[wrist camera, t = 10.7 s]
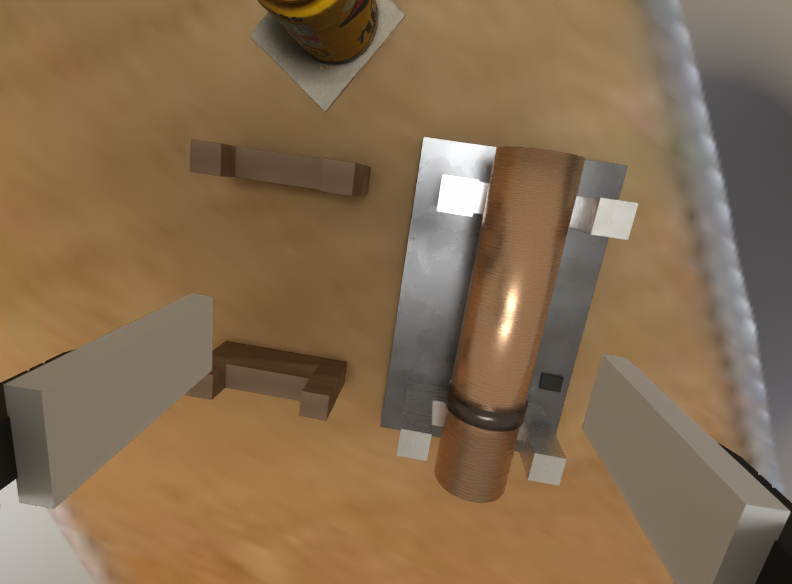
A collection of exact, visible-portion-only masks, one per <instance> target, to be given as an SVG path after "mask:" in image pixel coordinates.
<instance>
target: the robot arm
mask: <svg viewBox="0 0 792 584" xmlns="http://www.w3.org/2000/svg"><path fill="white" fill-rule="evenodd" d="M212 339H213V297H212V296H205V295H199V294H192V293H191V294H189V295H187V296H185V297H183V298H181V299H179V300H177V301H175V302H172V303H170V304H168V305H166V306H164V307H162V308H160V309H158V310H156V311H154V312H152V313H150V314H148V315H146V316H144V317H142V318H140V319H137V320H135V321H133V322H131V323H129V324H127V325H125V326H123V327H121V328H119V329H117V330H115V331H113V332H111V333H109V334H107V335H104V336H102V337H100V338H98V339H96V340H94V341H92V342H90V343H88V344H86V345H84V346H82V347H80V348H78V349H75V350H71V351H68V352H64V353H62V354H60V355H58V356H56V357H53V358H51V359H49V360H47V361H45V364H44V363H41V364H39V365H37V366H35V367H33V368H30V370H29V371H24V372H22V373H20V374H18V375H16V376H14V377H12V378H10V379H7V380H5V381H3V382H1V383H0V490H1V489H2V488H4V487H5V486H7V485H8V484H9V483H11V482H12V481H14V480H15V479H16V481H17V489H18V496H19V502H20V503H24V504H30V505H35V506H41V507H47V508H53V509H55V508H56V507H57V506H58V505H59V504H60V503H61V502H63V501H64V500H65V499H66V498H67V497H68V496H69V495H70V494H72V493H73V492H74V491H75V490H76V489H77V488H78V487H80V486H81V485H82V484H83V483H84V482H85V481H86V480H88V479H89V478H90V477H91V476H92V475H93V474H94V473H96V472H97V471H98V470H99V469H100V468H101V467H102V466H103V465H105V464H106V463H107V462H108V461H109V460H110V459H111V458H113V457H114V456H115V455H116V454H117V453H118V452H119V451H121V450H122V449H123V448H124V447H125V446H126V445H127V444H129V443H130V442H131V441H132V440H133V439H134V438H135V437H136V436H138V435H139V434H140V433H141V432H142V431H143V430H144V429H146V428H147V427H148V426H149V425H150V424H151V423H152V422H154V421H155V420H156V419H157V418H158V417H159V416H160V415H162V414H163V413H164V412H165V411H166V410H167V409H168V408H169V407H171V406H172V405H173V404H174V403H175V402H176V401H177V400H179V399H180V398H181V397H182V396H183V395H184V394H185V393H187V392H188V391H189V390H190V389H191V388H192V387H193V386H195V385H196V384H197V383H198V382H199V381H200V380H201V379H202V378H204V377H205V376H206V375H207V374H208V373H209V372H210V371H212ZM582 428H583V430H584V432H585V433H586V435H587V437H588V438H589V440H590V442H591V443H592V445H593V447H594V448H595V450H596V452H597V453H598V455H599V457H600V459H601V460H602V462H603V464H604V465H605V467H606V469H607V470H608V472H609V474H610V475H611V477H612V479H613V480H614V482H615V484H616V485H617V487H618V489H619V490H620V492H621V494H622V496H623V497H624V499H625V501H626V502H627V504H628V506H629V507H630V509H631V511H632V512H633V514H634V516H635V517H636V519H637V521H638V522H639V524H640V526H641V527H642V529H643V531H644V532H645V534H646V536H647V538H648V539H649V541H650V543H651V544H652V546H653V548H654V549H655V551H656V553H657V554H658V556H659V558H660V559H661V561H662V563H663V564H664V566H665V568H666V569H667V571H668V573H669V575H670V576H671V578H672V580H673V581H674V583H675V584H792V503H791V502H790V501H789V500H788V499H787V498H786V497H784V496H783V495H782V494H781V493H780V492H779V491H778V490H777V489H776V488H772V485H771V484H770V483H769V482H768V481H767V480H766V479H765V478H764V477H762V476H761V475H758V472H757V471H756V470H755V469H754V468H753V467H751V466H750V465H749V464H748V463H747V462H746V461H745V460H744V459H743V458H742V457H740V456H739V455H737V454H735V453H734V452H732V451H731V450H729V449H727V448H726V447H724V446H723V445H721V444H720V443H717V442H716V441H715V440H714V439H713V438H712V437H711V436H709V435H708V434H707V433H706V432H705V431H704V430H703V429H702V428H701V427H700V426H699V425H698V424H697V423H696V422H695V421H693V420H692V419H691V418H690V417H689V416H688V415H687V414H686V413H685V412H684V411H683V410H682V409H681V408H680V407H678V406H677V405H676V404H675V403H674V402H673V401H672V400H671V399H670V398H669V397H668V396H667V395H666V394H665V393H664V392H662V391H661V390H660V389H659V388H658V387H657V386H656V385H655V384H654V383H653V382H652V381H651V380H650V379H649V378H648V377H646V376H645V375H644V374H643V373H642V372H641V371H640V370H639V369H638V368H637V367H636V366H635V365H634V364H633V363H631V362H630V361H629V360H628V359H627V358H625V357H618V356H611V355H604V354H603V355H602V358H601V362H600V365H599V369H598V373H597V376H596V380H595V383H594V387H593V391H592V394H591V398H590V401H589V405H588V408H587V412H586V416H585V419H584V423H583V426H582Z"/></svg>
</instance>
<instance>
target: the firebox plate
mask: <svg viewBox="0 0 792 584" xmlns="http://www.w3.org/2000/svg"><path fill="white" fill-rule="evenodd" d="M496 148H497V147H491V146H484V145H477V144H470V143H463V142H456V141H448V140H441V139H434V138H427V137H424V139H423V145H422V152H421V159H420V165H419V172H418V179H417V185H416V192H415V199H414V205H413V212H412V219H411V225H410V232H409V239H408V245H407V252H406V259H405V265H404V272H403V279H402V285H401V292H400V299H399V305H398V312H397V319H396V325H395V332H394V339H393V345H392V352H391V359H390V365H389V372H388V379H387V385H386V392H385V399H384V405H383V412H382V419H381V425H380V426H381V427H386V428H392V429H397V430H401V431H400V438H399V444H398V450H397V456H402V457H408V458H413V459H418V460H424V461H427V457H428V452H429V446H430V441H431V436H436V437H441V432H442V427H443V421H444V416H445V411H446V404H445V399H446V394H447V389H448V384H449V382H450V380H451V379H452V375H453V370H454V364H455V359H456V354H457V349H458V344H459V338H460V333H461V328H462V323H463V318H464V312H465V307H466V302H467V297H468V292H469V287H470V281H471V276H472V271H473V266H474V261H475V255H476V250H477V245H478V240H479V235H480V229H481V224H482V219H483V214H484V209H485V203H486V198H487V193H488V188H489V183H490V178H491V172H492V167H493V162H494V157H495V152H496ZM627 167H628V166H626V165H619V164H612V163H605V162H598V161H591V160H585V163H584V168H583V172H582V176H581V180H580V184H579V188H578V192H577V196H576V200H575V204H574V208H573V213H572V217H571V221H570V225H569V229H568V233H567V237H566V241H565V245H564V249H563V253H562V257H561V262H560V266H559V270H558V274H557V278H556V282H555V286H554V290H553V294H552V298H551V302H550V306H549V311H548V315H547V319H546V323H545V327H544V331H543V335H542V339H541V343H540V347H539V351H538V356H537V360H536V364H535V368H534V372H533V376H532V380H531V384H530V388H529V392H528V396H527V401H528V407H527V411H526V415H525V419H524V423H523V425H522V426H521V427H520V429H519V433H518V437H517V441H516V445H515V450H514V451H518V452H520V456H521V459H522V462H523V466H524V469H525V472H526V475H527V479H528V480H531V481H537V482H542V483H548V484H553V485H558V486H559V484H560V480H561V477H562V473H563V470H564V466H565V462H566V457H565V455H564V453H563V450H562V448H561V446H560V444H559V442H558V440H557V438H556V435H555V434H556V431H557V427H558V423H559V420H560V416H561V412H562V408H563V405H564V401H565V397H566V393H567V390H568V386H569V382H570V379H571V375H572V371H573V367H574V364H575V360H576V356H577V353H578V349H579V345H580V341H581V338H582V334H583V330H584V327H585V323H586V319H587V315H588V312H589V308H590V304H591V300H592V297H593V293H594V289H595V286H596V282H597V278H598V274H599V271H600V267H601V263H602V260H603V256H604V252H605V248H606V245H607V241H608V237H612V238H618V239H625V240H628V238H629V235H630V231H631V227H632V224H633V220H634V217H635V213H636V210H637V206H638V203H633V202H626V201H620V200H619V196H620V193H621V189H622V185H623V181H624V178H625V174H626V170H627Z"/></svg>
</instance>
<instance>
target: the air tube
mask: <svg viewBox="0 0 792 584" xmlns="http://www.w3.org/2000/svg"><path fill="white" fill-rule="evenodd" d="M584 163H585V158H584V157H581V156H577V155H573V154H568V153H563V152H557V151H550V150H543V149H534V148H523V147H497V148H496V152H495V157H494V162H493V167H492V172H491V178H490V183H489V188H488V193H487V198H486V203H485V209H484V214H483V219H482V224H481V229H480V235H479V240H478V245H477V250H476V255H475V261H474V266H473V271H472V276H471V281H470V287H469V292H468V297H467V302H466V307H465V312H464V318H463V323H462V328H461V333H460V338H459V344H458V349H457V354H456V359H455V364H454V370H453V375H452V379H451V380H450V382H449V384H448V389H447V394H446V399H445V404H446V411H445V416H444V421H443V427H442V432H441V437H440V442H439V447H438V453H437V458H436V463H435V469H434V472H435V476H436V479H437V480H438V482H439V483H440V485H441V486H442V487H443V488H444V489H445V490H447V491H448V492H449V493H451V494H453V495H454V496H456V497H458V498H461V499H463V500H466V501H470V502H476V503H487V502H492V501H495V500H497V499H498V498H500V497H501V496H502V495H503V493H504V490H505V486H506V482H507V478H508V474H509V470H510V466H511V462H512V458H513V454H514V450H515V445H516V441H517V437H518V433H519V429H520V427H521V426H522V425H523V423H524V419H525V415H526V411H527V407H528V401H527V396H528V392H529V388H530V384H531V380H532V376H533V372H534V368H535V364H536V360H537V356H538V351H539V347H540V343H541V339H542V335H543V331H544V327H545V323H546V319H547V315H548V311H549V306H550V302H551V298H552V294H553V290H554V286H555V282H556V278H557V274H558V270H559V266H560V262H561V257H562V253H563V249H564V245H565V241H566V237H567V233H568V229H569V225H570V221H571V217H572V213H573V208H574V204H575V200H576V196H577V192H578V188H579V184H580V180H581V176H582V172H583V168H584Z"/></svg>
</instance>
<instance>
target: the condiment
mask: <svg viewBox="0 0 792 584" xmlns="http://www.w3.org/2000/svg"><path fill="white" fill-rule="evenodd" d="M258 2H259V3H260V4H261V5H262V6H263V7H264V8H265V9H266V10H267V11H268V13H267V15H266V16H265V17H264V19H263V20H262V21H261V22H260V23H259V24H258V26H257V27H256V29H255V30H254V31H253V33H252V34H251V35H250V37H251V38H252V39H253V40H254V41H255V42H256V43H257V44H258V45H259V46H260V47H261V48H262V49H263V50H264V51H265V52H266V53H267V54H268V55H269V56H270V57H271V58H272V59H273V60H274V61H275V62H276V63H277V64H278V65H279V66H280V67H281V68H282V69H283V70H284V71H285V72H286V73H287V74H288V75H289V76H290V77H291V78H292V79H293V80H294V81H296V83H297V84H298V85H299V86H300V87H301V88H302V89H303V90H304V91H305V92H306V93H307V94H308V95H309V96H310V97H311V98H312V99H313V100H314V101H315V102H316V103H317V104H318V105H319V106H320V107H321V108H322V109H323V110H324V111H326V110H327V109H328V108H329V106H330V105H331V104H332V103H333V101H334V100H335V99H336V98H337V97H338V96H339V94H340V93H341V92H342V90H343V89H344V88H345V87H346V86H347V84H348V83H349V82H350V81H351V80H352V78H353V77H354V76H355V75H356V74H357V73H358V71H359V70H360V69H361V68H362V67H363V66H364V65H365V63H366V62H367V61H368V60H369V59H370V58H371V56H372V55H373V54H374V53H375V51H376V50H377V49H378V48H379V47H380V45H381V44H382V43H383V42H384V41H385V40H386V38H387V37H388V36H389V35H390V33H391V32H392V31H393V30H394V29H395V27H396V26H397V25H398V24H399V22H400V21H401V20H402V19H403V17H404V16H405V14H404V13H403V12H402V11H401V10H400V9H399V8H398V7H397V6H396V5H395V4H394V3H393V2H392V1H391V0H258ZM326 65H328V66H329V68H325V66H326ZM319 67H324V69H322V70H320V69H319Z"/></svg>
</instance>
